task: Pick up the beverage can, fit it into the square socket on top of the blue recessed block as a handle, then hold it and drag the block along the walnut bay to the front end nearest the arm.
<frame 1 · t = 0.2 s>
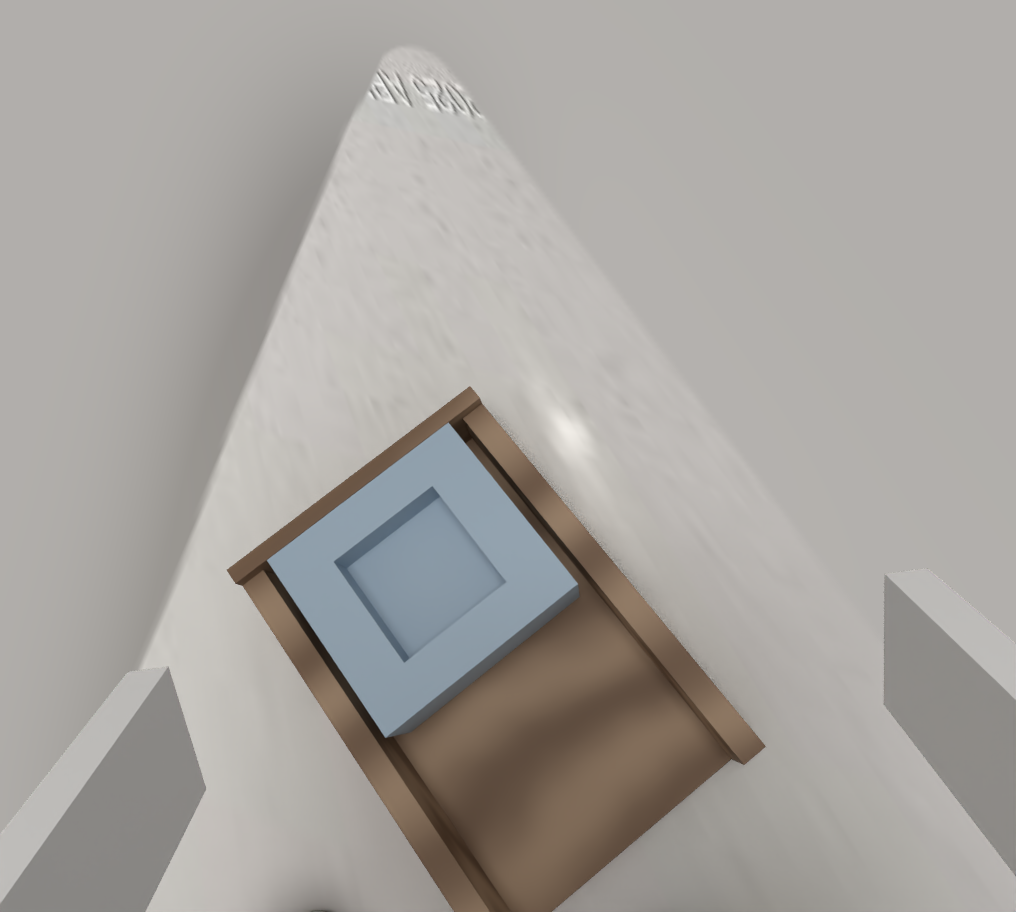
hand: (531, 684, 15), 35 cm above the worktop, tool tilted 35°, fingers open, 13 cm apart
crate bay: (493, 657, 49), on the worktop
blue recessed block: (429, 579, 47), point 4 cm above the worktop, slide at 0.0 cm
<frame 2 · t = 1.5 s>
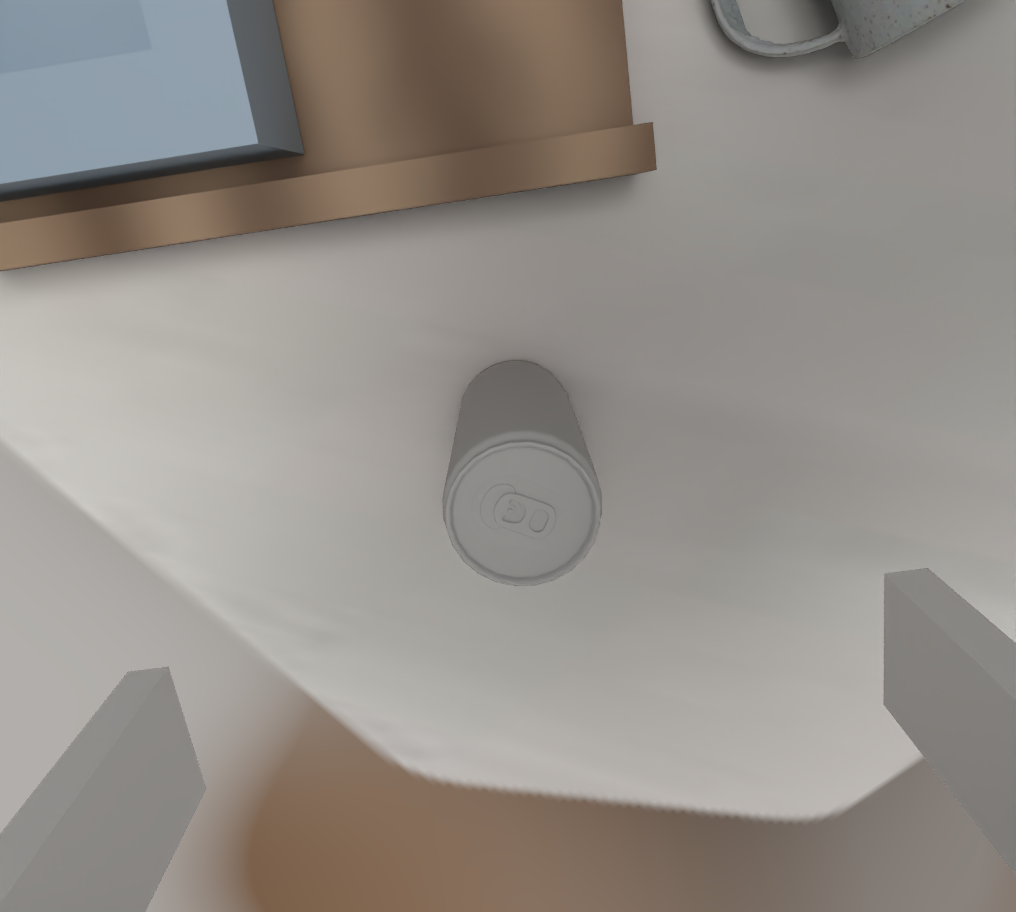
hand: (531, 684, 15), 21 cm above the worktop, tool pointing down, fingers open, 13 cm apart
beverage can: (515, 411, 35), on the worktop
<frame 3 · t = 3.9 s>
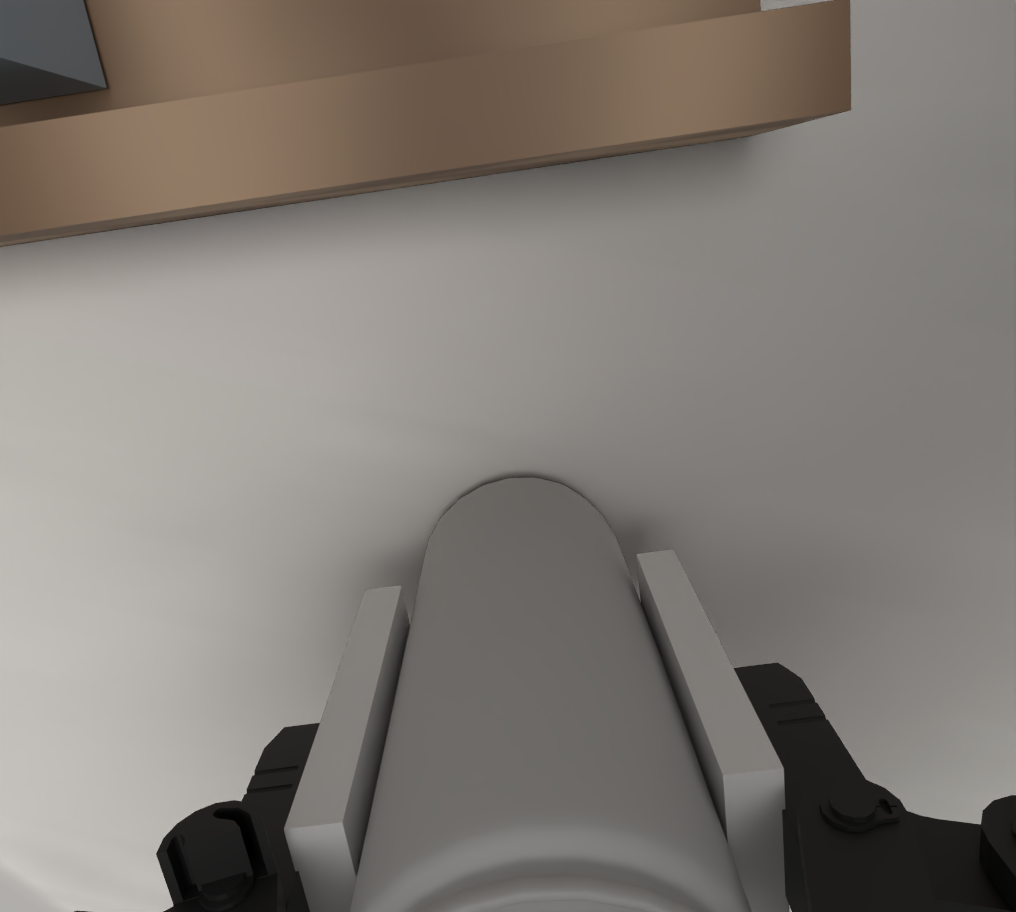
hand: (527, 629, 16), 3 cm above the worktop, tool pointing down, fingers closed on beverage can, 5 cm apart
beverage can: (523, 557, 20), on the worktop, touching gripper
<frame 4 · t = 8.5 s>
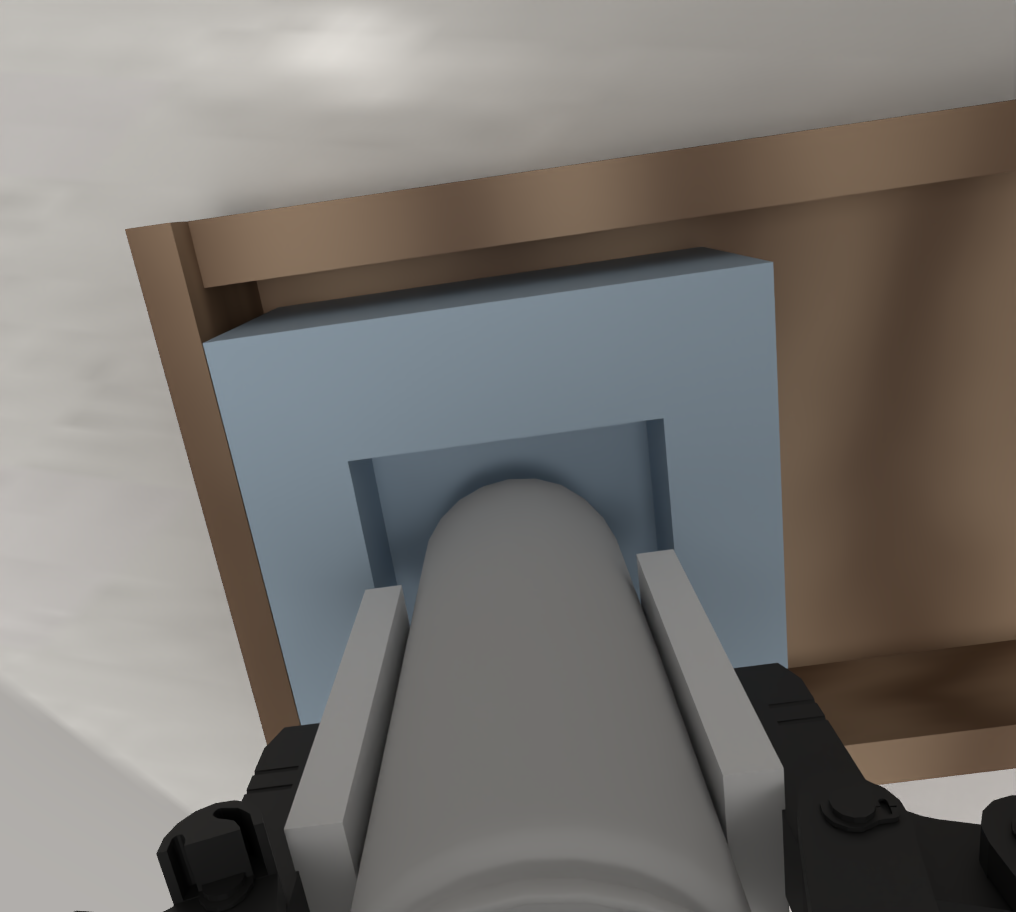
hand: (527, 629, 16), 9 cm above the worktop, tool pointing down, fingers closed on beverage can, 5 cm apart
beverage can: (523, 558, 20), point 6 cm above the worktop, touching gripper
crate bay: (690, 456, 25), on the worktop
blue recessed block: (522, 531, 21), point 4 cm above the worktop, slide at 0.0 cm
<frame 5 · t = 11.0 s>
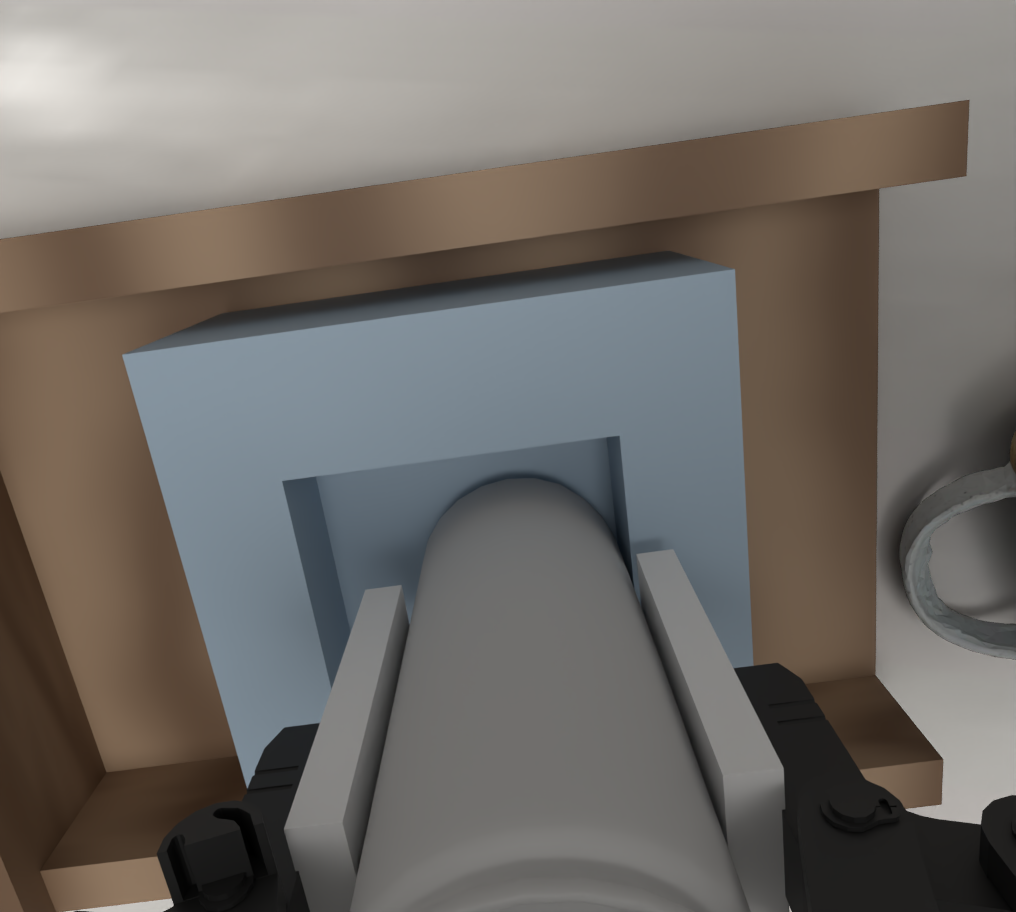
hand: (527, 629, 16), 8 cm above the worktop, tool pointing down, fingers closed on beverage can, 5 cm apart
beverage can: (522, 558, 20), point 5 cm above the worktop, touching blue recessed block, gripper
crate bay: (435, 499, 24), on the worktop
blue recessed block: (477, 551, 20), point 4 cm above the worktop, slide at 6.9 cm, touching beverage can
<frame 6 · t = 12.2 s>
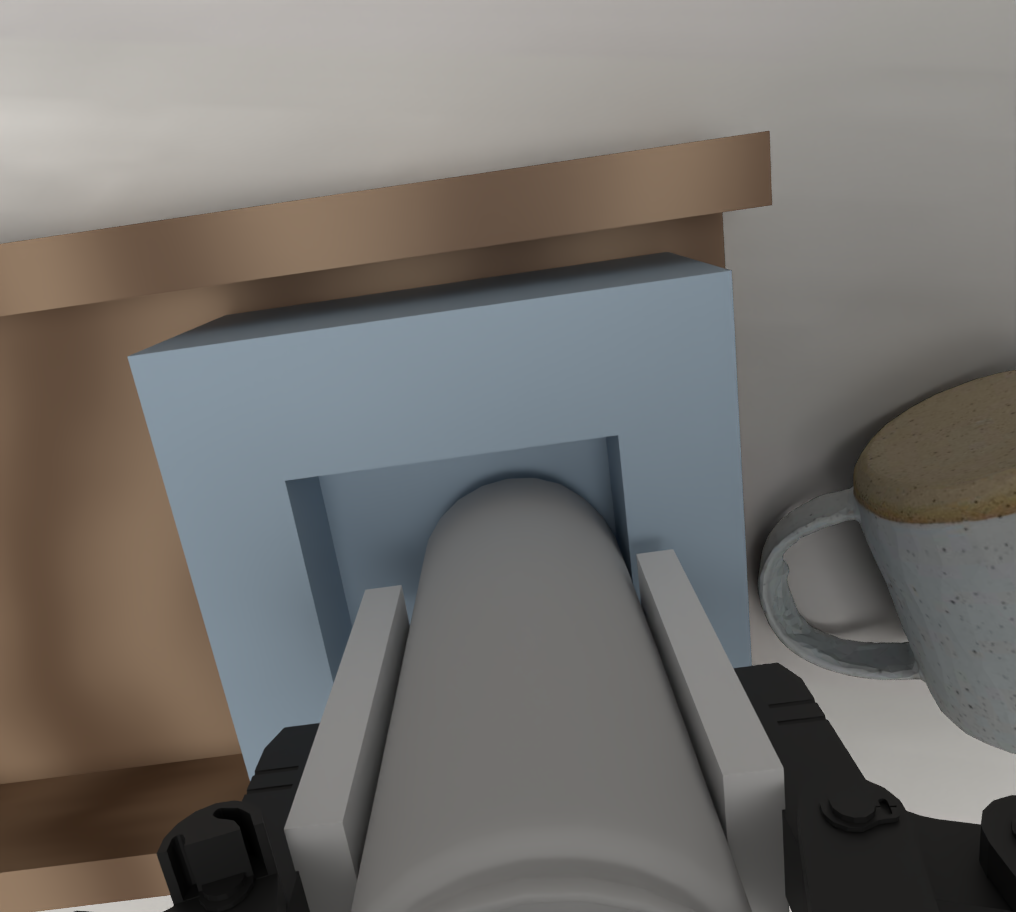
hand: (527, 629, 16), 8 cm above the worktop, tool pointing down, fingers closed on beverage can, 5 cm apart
ceramic mug: (914, 526, 25), on the worktop
beverage can: (522, 558, 20), point 5 cm above the worktop, touching gripper
crate bay: (307, 516, 25), on the worktop
blue recessed block: (478, 550, 20), point 4 cm above the worktop, slide at 11.0 cm
when the fingers open (9 cm above the worktop, at t = 13.2 s): beverage can stays where it is, resting on blue recessed block.
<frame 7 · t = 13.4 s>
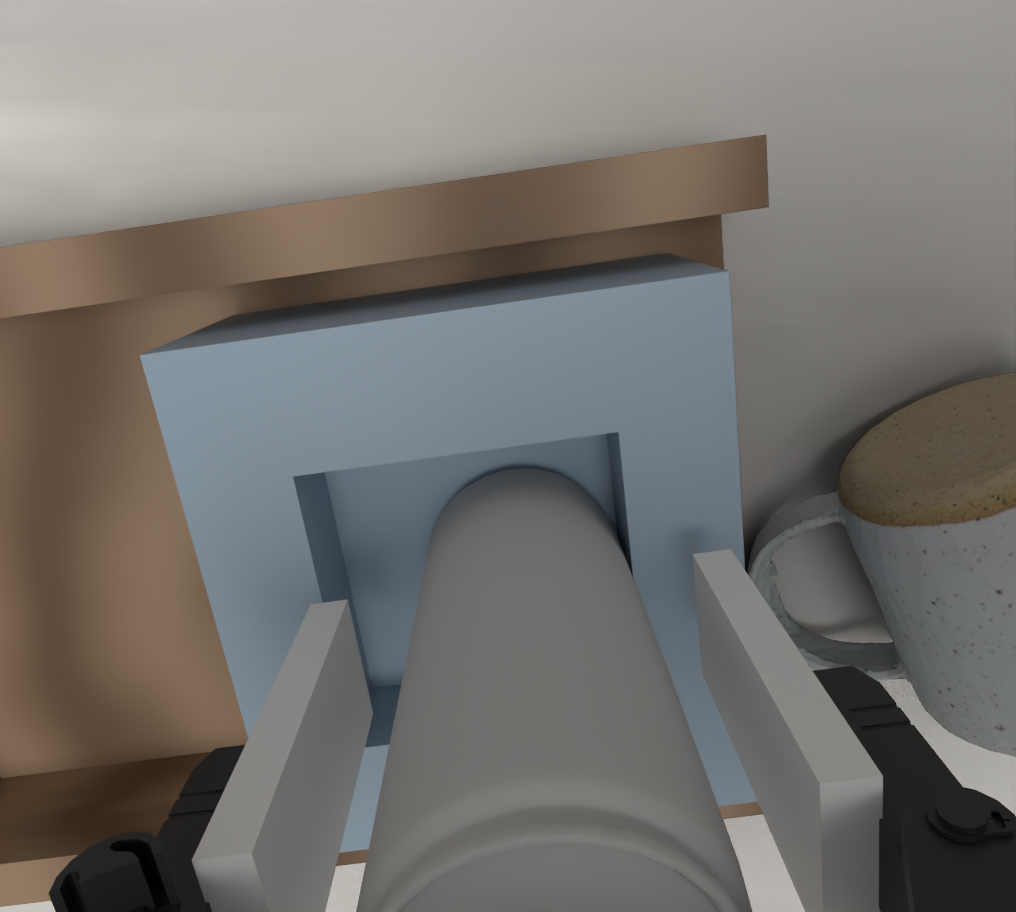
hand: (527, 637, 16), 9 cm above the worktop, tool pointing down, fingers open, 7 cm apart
ceramic mug: (900, 528, 26), on the worktop
beverage can: (523, 546, 20), point 5 cm above the worktop, touching blue recessed block
crate bay: (312, 513, 25), on the worktop
blue recessed block: (481, 545, 21), point 4 cm above the worktop, slide at 11.0 cm, touching beverage can
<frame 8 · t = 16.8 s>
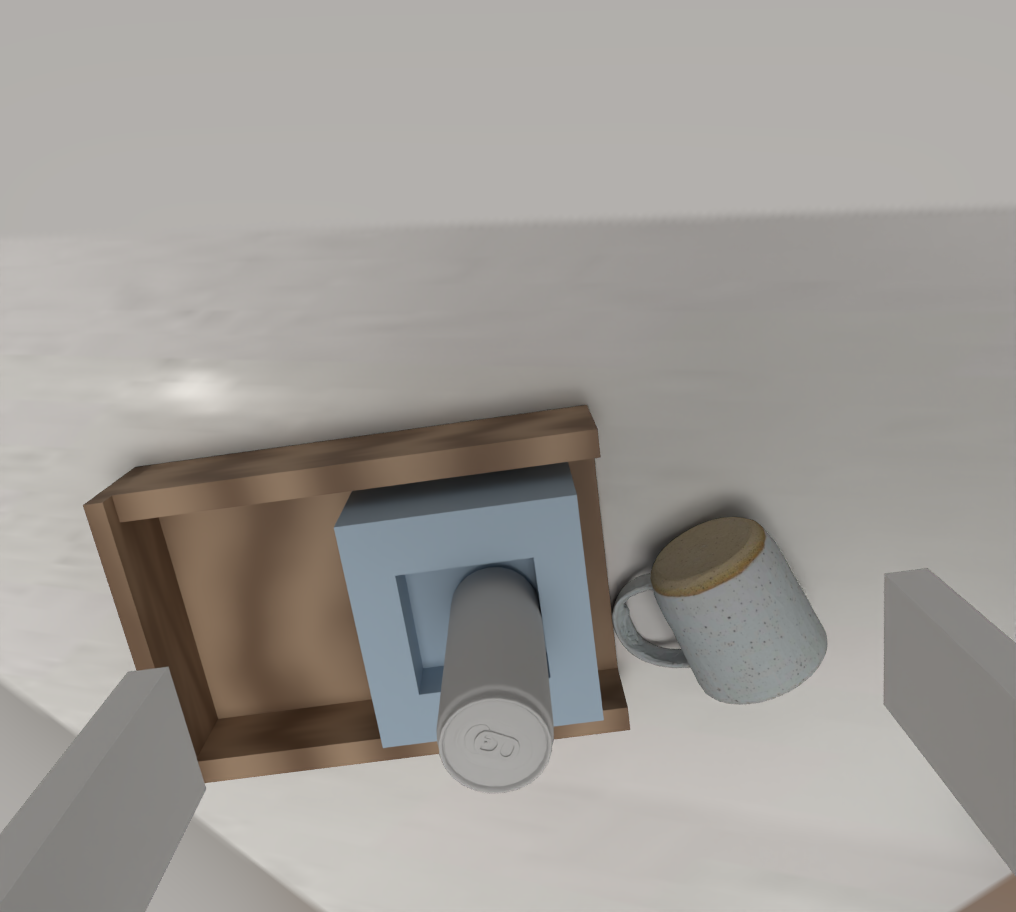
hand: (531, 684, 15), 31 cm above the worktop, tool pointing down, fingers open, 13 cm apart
ceramic mug: (697, 588, 49), on the worktop
beverage can: (495, 600, 43), point 5 cm above the worktop, touching blue recessed block
crate bay: (388, 578, 48), on the worktop
blue recessed block: (476, 600, 44), point 4 cm above the worktop, slide at 11.0 cm, touching beverage can
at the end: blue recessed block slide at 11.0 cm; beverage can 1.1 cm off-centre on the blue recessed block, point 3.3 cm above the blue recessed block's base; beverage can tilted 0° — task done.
